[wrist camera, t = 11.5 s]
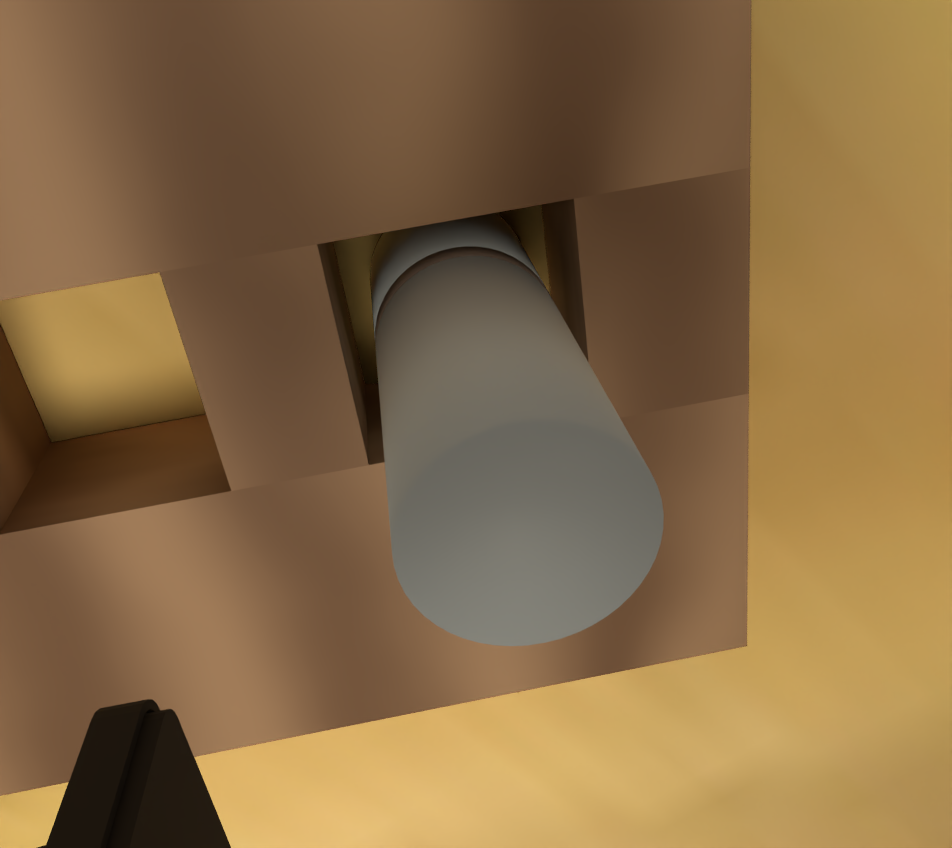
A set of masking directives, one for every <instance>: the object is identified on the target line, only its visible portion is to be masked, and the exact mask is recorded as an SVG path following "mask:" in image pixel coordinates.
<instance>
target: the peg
mask: <svg viewBox="0 0 952 848" xmlns="http://www.w3.org/2000/svg"><path fill="white" fill-rule="evenodd" d="M370 285H371V298H372V310H373V323H374V335H375V348H376V360H377V373H378V385H379V398H380V410H381V423H382V435H383V448H384V460H385V473H386V485H387V498H388V510H389V523H390V535H391V548H392V557H393V563H394V568H395V571H396V575H397V578H398V581H399V583H400V585H401V587H402V589H403V591H404V592H405V594H406V596H407V597H408V598H409V600H410V601H411V602H412V604H413V605H414V606H415V607H416V608H417V609H418V610H419V611H420V612H421V613H422V614H423V615H424V616H425V617H426V618H427V619H429V620H430V621H431V622H433V623H434V624H435V625H437V626H439V627H440V628H442V629H444V630H446V631H447V632H449V633H451V634H454V635H456V636H459V637H461V638H464V639H467V640H471V641H474V642H478V643H483V644H490V645H498V646H526V645H534V644H540V643H546V642H550V641H554V640H558V639H561V638H564V637H567V636H570V635H572V634H575V633H578V632H580V631H582V630H584V629H586V628H588V627H590V626H592V625H594V624H595V623H597V622H599V621H600V620H602V619H604V618H605V617H607V616H608V615H609V614H611V613H612V612H613V611H615V610H616V609H617V608H619V607H620V606H621V605H622V604H623V603H624V602H625V601H626V600H627V599H628V598H629V597H630V596H631V595H632V594H633V593H634V592H635V590H636V589H637V588H638V587H639V586H640V584H641V583H642V581H643V580H644V578H645V577H646V575H647V574H648V572H649V571H650V569H651V567H652V565H653V563H654V561H655V559H656V556H657V553H658V550H659V547H660V544H661V539H662V533H663V520H664V513H663V506H662V499H661V496H660V492H659V489H658V486H657V484H656V482H655V480H654V478H653V476H652V474H651V472H650V470H649V468H648V466H647V465H646V463H645V461H644V459H643V458H642V456H641V454H640V452H639V451H638V449H637V447H636V445H635V444H634V442H633V440H632V438H631V437H630V435H629V433H628V431H627V430H626V428H625V426H624V424H623V423H622V421H621V419H620V417H619V415H618V414H617V412H616V410H615V408H614V407H613V405H612V403H611V401H610V400H609V398H608V396H607V394H606V393H605V391H604V389H603V387H602V386H601V384H600V382H599V380H598V379H597V377H596V375H595V373H594V372H593V370H592V368H591V366H590V364H589V363H588V361H587V359H586V357H585V356H584V354H583V352H582V350H581V349H580V347H579V345H578V343H577V342H576V340H575V338H574V336H573V335H572V333H571V331H570V329H569V328H568V326H567V324H566V322H565V321H564V319H563V317H562V315H561V313H560V312H559V310H558V308H557V306H556V305H555V303H554V301H553V299H552V298H551V296H550V294H549V292H548V291H547V289H546V287H545V285H544V284H543V282H542V280H541V278H540V277H539V275H538V273H537V271H536V270H535V268H534V266H533V264H532V262H531V261H530V259H529V257H528V255H527V254H526V252H525V250H524V248H523V247H522V245H521V243H520V241H519V240H518V238H517V236H516V234H515V233H514V231H513V230H512V229H511V227H510V226H509V225H508V224H507V223H506V221H505V220H504V219H503V218H501V217H500V216H499V215H498V214H497V213H491V214H485V215H480V216H474V217H468V218H463V219H457V220H451V221H446V222H440V223H434V224H429V225H423V226H418V227H412V228H406V229H401V230H395V231H389V232H384V233H383V234H382V236H381V238H380V239H379V241H378V243H377V245H376V248H375V250H374V253H373V257H372V260H371V267H370Z"/></svg>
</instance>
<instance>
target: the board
mask: <svg viewBox="0 0 952 848" xmlns="http://www.w3.org/2000/svg"><path fill="white" fill-rule="evenodd" d="M750 124H751V0H0V300H6V299H11V298H17V297H23V296H28V295H34V294H40V293H45V292H51V291H56V290H62V289H68V288H73V287H79V286H85V285H90V284H96V283H102V282H107V281H113V280H119V279H124V278H130V277H135V276H141V275H147V274H152V273H158V272H160V275H161V278H162V281H163V284H164V287H165V290H166V293H167V296H168V299H169V302H170V305H171V308H172V311H173V314H174V318H175V321H176V324H177V327H178V330H179V333H180V336H181V339H182V342H183V345H184V348H185V351H186V354H187V357H188V360H189V363H190V366H191V369H192V372H193V375H194V378H195V382H196V385H197V388H198V391H199V394H200V397H201V400H202V403H203V406H204V409H205V412H206V414H205V415H200V416H194V417H189V418H183V419H178V420H172V421H167V422H162V423H156V424H151V425H145V426H140V427H134V428H129V429H124V430H118V431H113V432H107V433H102V434H97V435H91V436H86V437H80V438H75V439H69V440H64V441H59V442H53V443H51V442H50V439H49V437H48V435H47V432H46V430H45V428H44V425H43V423H42V421H41V419H40V416H39V414H38V412H37V409H36V407H35V405H34V402H33V400H32V398H31V395H30V393H29V391H28V388H27V386H26V384H25V381H24V379H23V377H22V374H21V372H20V370H19V368H18V365H17V363H16V361H15V358H14V356H13V354H12V351H11V349H10V347H9V344H8V342H7V340H6V337H5V335H4V333H3V330H2V328H1V326H0V796H1V795H6V794H11V793H16V792H21V791H26V790H31V789H36V788H41V787H46V786H51V785H56V784H61V783H66V782H69V780H70V777H71V775H72V772H73V769H74V766H75V764H76V761H77V758H78V755H79V752H80V750H81V747H82V744H83V741H84V738H85V736H86V733H87V730H88V727H89V724H90V722H91V719H92V717H93V715H94V713H95V712H96V711H97V710H98V709H99V708H104V707H109V706H114V705H120V704H125V703H130V702H136V701H141V700H146V699H152V700H154V701H155V702H156V703H157V705H158V707H159V708H160V710H166V709H172V710H173V711H175V713H176V715H177V717H178V719H179V721H180V724H181V726H182V729H183V731H184V734H185V736H186V739H187V741H188V744H189V746H190V748H191V751H192V753H193V756H194V757H196V756H201V755H206V754H211V753H216V752H221V751H226V750H231V749H236V748H241V747H246V746H251V745H256V744H261V743H266V742H271V741H276V740H281V739H286V738H291V737H296V736H301V735H305V734H310V733H315V732H320V731H325V730H330V729H335V728H340V727H345V726H350V725H355V724H360V723H365V722H370V721H375V720H380V719H385V718H390V717H395V716H400V715H405V714H410V713H415V712H420V711H425V710H430V709H435V708H440V707H445V706H450V705H455V704H460V703H465V702H470V701H475V700H480V699H485V698H490V697H495V696H500V695H505V694H510V693H515V692H520V691H525V690H530V689H535V688H540V687H545V686H550V685H555V684H560V683H565V682H570V681H575V680H580V679H585V678H590V677H595V676H600V675H605V674H610V673H615V672H620V671H625V670H630V669H635V668H640V667H645V666H649V665H654V664H659V663H664V662H669V661H674V660H679V659H684V658H689V657H694V656H699V655H704V654H709V653H714V652H719V651H724V650H729V649H734V648H739V647H744V646H747V563H748V416H749V270H750ZM536 205H541V208H542V217H543V226H544V236H545V245H546V254H547V264H548V273H549V282H550V292H551V298H552V299H553V301H554V303H555V305H556V306H557V308H558V310H559V312H560V313H561V315H562V317H563V319H564V321H565V322H566V324H567V326H568V328H569V329H570V331H571V333H572V335H573V336H574V338H575V340H576V342H577V343H578V345H579V347H580V349H581V350H582V352H583V354H584V356H585V357H586V359H587V361H588V363H589V364H590V366H591V368H592V370H593V372H594V373H595V375H596V377H597V379H598V380H599V382H600V384H601V386H602V387H603V389H604V391H605V393H606V394H607V396H608V398H609V400H610V401H611V403H612V405H613V407H614V408H615V410H616V412H617V414H618V415H619V417H620V419H621V421H622V423H623V424H624V426H625V428H626V430H627V431H628V433H629V435H630V437H631V438H632V440H633V442H634V444H635V445H636V447H637V449H638V451H639V452H640V454H641V456H642V458H643V459H644V461H645V463H646V465H647V466H648V468H649V470H650V472H651V474H652V476H653V478H654V480H655V482H656V484H657V486H658V489H659V492H660V496H661V499H662V506H663V513H664V520H663V533H662V539H661V544H660V547H659V550H658V553H657V556H656V559H655V561H654V563H653V565H652V567H651V569H650V571H649V572H648V574H647V575H646V577H645V578H644V580H643V581H642V583H641V584H640V586H639V587H638V588H637V589H636V590H635V592H634V593H633V594H632V595H631V596H630V597H629V598H628V599H627V600H626V601H625V602H624V603H623V604H622V605H621V606H620V607H619V608H617V609H616V610H615V611H613V612H612V613H611V614H609V615H608V616H607V617H605V618H604V619H602V620H600V621H599V622H597V623H595V624H594V625H592V626H590V627H588V628H586V629H584V630H582V631H580V632H578V633H575V634H572V635H570V636H567V637H564V638H561V639H558V640H554V641H550V642H546V643H540V644H534V645H526V646H498V645H490V644H483V643H478V642H474V641H471V640H467V639H464V638H461V637H459V636H456V635H454V634H451V633H449V632H447V631H446V630H444V629H442V628H440V627H439V626H437V625H435V624H434V623H433V622H431V621H430V620H429V619H427V618H426V617H425V616H424V615H423V614H422V613H421V612H420V611H419V610H418V609H417V608H416V607H415V606H414V605H413V604H412V602H411V601H410V600H409V598H408V597H407V596H406V594H405V592H404V591H403V589H402V587H401V585H400V583H399V581H398V578H397V575H396V571H395V568H394V563H393V557H392V548H391V535H390V523H389V510H388V498H387V485H386V473H385V460H384V448H383V435H382V423H381V410H380V398H379V385H378V383H373V384H368V385H365V382H364V378H363V373H362V369H361V365H360V360H359V356H358V351H357V347H356V342H355V338H354V334H353V329H352V325H351V320H350V316H349V311H348V307H347V303H346V298H345V294H344V289H343V285H342V280H341V276H340V272H339V267H338V263H337V258H336V254H335V249H334V245H333V241H339V240H344V239H350V238H355V237H361V236H367V235H372V234H378V233H384V232H389V231H395V230H401V229H406V228H412V227H418V226H423V225H429V224H434V223H440V222H446V221H451V220H457V219H463V218H468V217H474V216H480V215H485V214H491V213H497V212H502V211H508V210H513V209H519V208H525V207H530V206H536Z"/></svg>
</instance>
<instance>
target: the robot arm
mask: <svg viewBox="0 0 952 848" xmlns="http://www.w3.org/2000/svg"><path fill="white" fill-rule="evenodd" d="M38 848H231V846H230V844H229V842H228V839H227V837H226V834H225V832H224V829H223V827H222V824H221V822H220V820H219V817H218V815H217V812H216V810H215V807H214V805H213V802H212V800H211V797H210V795H209V793H208V790H207V788H206V785H205V783H204V780H203V778H202V775H201V773H200V770H199V768H198V766H197V763H196V761H195V758H194V756H193V753H192V751H191V748H190V746H189V744H188V741H187V739H186V736H185V734H184V731H183V729H182V726H181V724H180V721H179V719H178V717H177V715H176V713H175V711H173V710H172V709H166V710H160V708H159V707H158V705H157V703H156V702H155V701H154V700H152V699H146V700H141V701H136V702H130V703H125V704H120V705H114V706H109V707H104V708H99V709H98V710H97V711H96V712H95V713H94V715H93V717H92V719H91V722H90V724H89V727H88V730H87V733H86V736H85V738H84V741H83V744H82V747H81V750H80V752H79V755H78V758H77V761H76V764H75V766H74V769H73V772H72V775H71V777H70V780H69V783H68V786H67V789H66V791H65V794H64V797H63V800H62V803H61V805H60V808H59V811H58V814H57V817H56V819H55V822H54V825H53V828H52V831H51V833H50V836H49V839H48V842H47V844H46V845H45V846H41V847H38Z"/></svg>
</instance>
